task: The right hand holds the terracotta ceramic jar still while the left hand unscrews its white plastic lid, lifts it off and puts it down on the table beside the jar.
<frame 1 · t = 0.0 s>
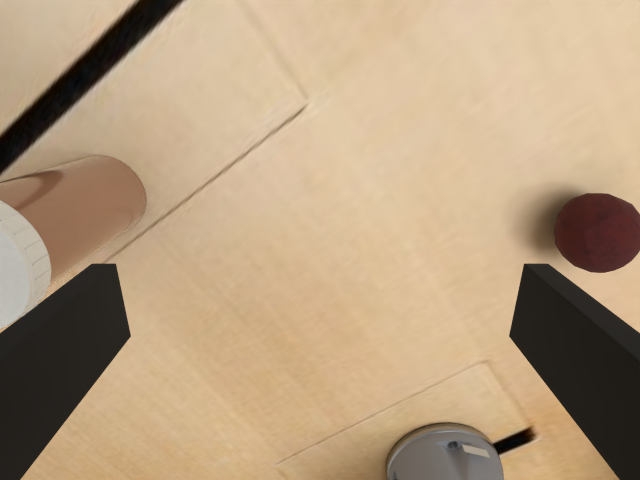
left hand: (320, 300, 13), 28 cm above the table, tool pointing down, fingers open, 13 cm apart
jar: (107, 194, 40), on the table
dark red ball: (573, 219, 41), on the table
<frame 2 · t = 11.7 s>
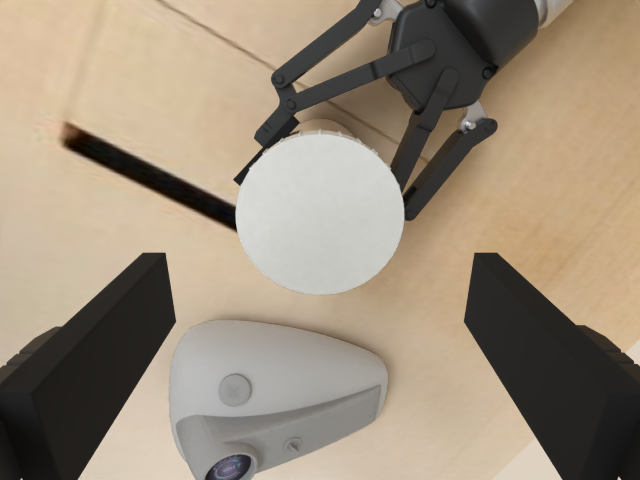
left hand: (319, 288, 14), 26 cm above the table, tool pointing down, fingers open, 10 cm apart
right hand: (280, 215, 33), fingers closed on jar, 8 cm apart
projector: (286, 367, 46), on the table
jar: (320, 162, 37), on the table, touching right hand
lid: (320, 219, 21), point 18 cm above the table, screwed on, not yet turned
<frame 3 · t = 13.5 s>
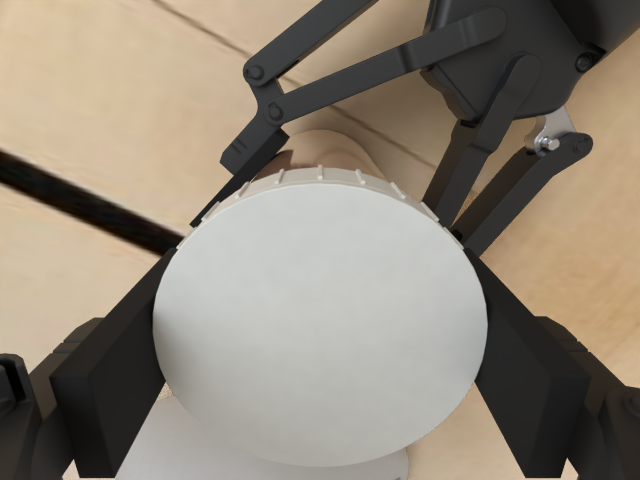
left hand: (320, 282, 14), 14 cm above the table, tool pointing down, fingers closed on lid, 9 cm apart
right hand: (262, 271, 23), fingers closed on jar, 8 cm apart
projector: (276, 445, 36), on the table
jar: (319, 188, 27), on the table, touching right hand
lid: (320, 339, 11), point 18 cm above the table, screwed on, not yet turned, touching left hand
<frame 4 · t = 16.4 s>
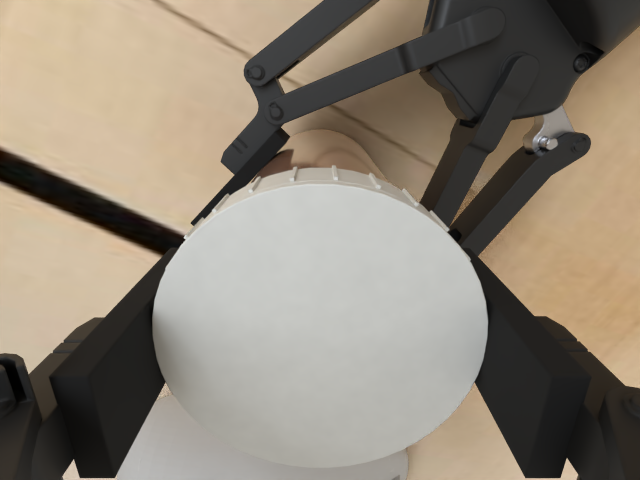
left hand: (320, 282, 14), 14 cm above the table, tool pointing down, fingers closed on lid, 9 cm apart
right hand: (262, 270, 23), fingers closed on jar, 8 cm apart
projector: (276, 443, 36), on the table
jar: (320, 188, 27), on the table, touching right hand
lid: (320, 340, 11), point 18 cm above the table, turned 62° so far, risen 0.2 cm, still on its thread, touching left hand
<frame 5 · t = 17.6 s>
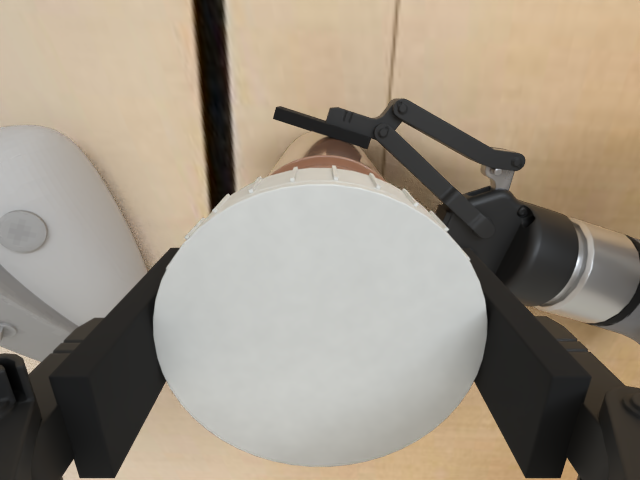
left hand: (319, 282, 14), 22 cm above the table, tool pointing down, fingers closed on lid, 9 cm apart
projector: (79, 255, 37), on the table
jar: (324, 176, 34), on the table, touching right hand
lid: (320, 339, 11), point 25 cm above the table, off its thread, touching left hand
when the left hand's fingers open (0 cm above the table, at t = 22.9 s): lid drops 2 cm, point 2 cm above the table.
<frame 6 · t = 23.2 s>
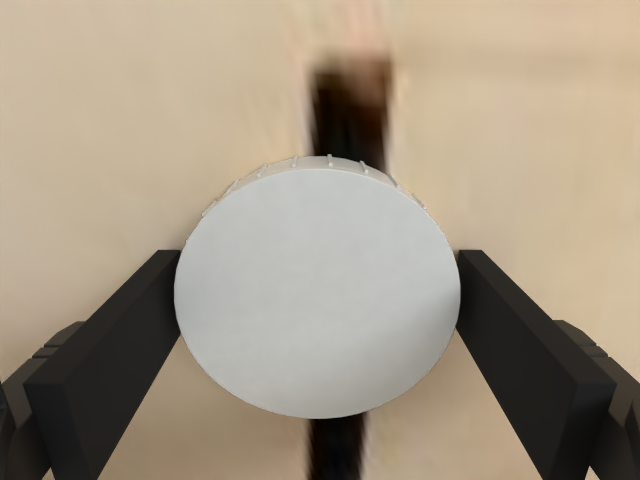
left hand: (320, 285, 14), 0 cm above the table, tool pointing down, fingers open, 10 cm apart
lid: (317, 304, 12), point 2 cm above the table, off its thread
when the right hand's fingers open (6 cm above the table, at t = 23.9 s): jar stays where it is, on the table.
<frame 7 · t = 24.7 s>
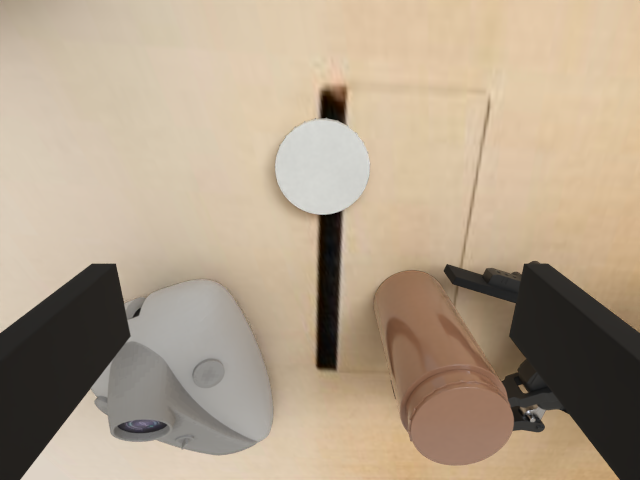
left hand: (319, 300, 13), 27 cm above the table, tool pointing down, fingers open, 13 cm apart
projector: (209, 357, 47), on the table
jar: (409, 302, 44), on the table
lid: (322, 168, 37), point 2 cm above the table, off its thread
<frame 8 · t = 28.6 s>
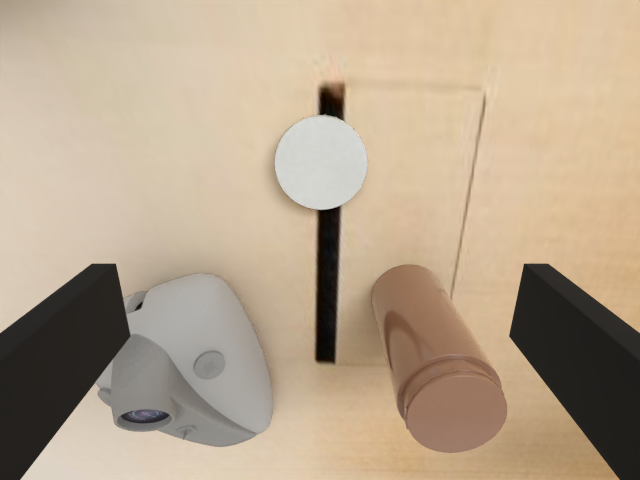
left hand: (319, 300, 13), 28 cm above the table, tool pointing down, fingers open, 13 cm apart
projector: (210, 351, 47), on the table
jar: (406, 296, 45), on the table
lid: (321, 164, 38), point 2 cm above the table, off its thread
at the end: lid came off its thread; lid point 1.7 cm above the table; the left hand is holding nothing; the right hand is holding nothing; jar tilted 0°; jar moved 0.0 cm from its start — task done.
